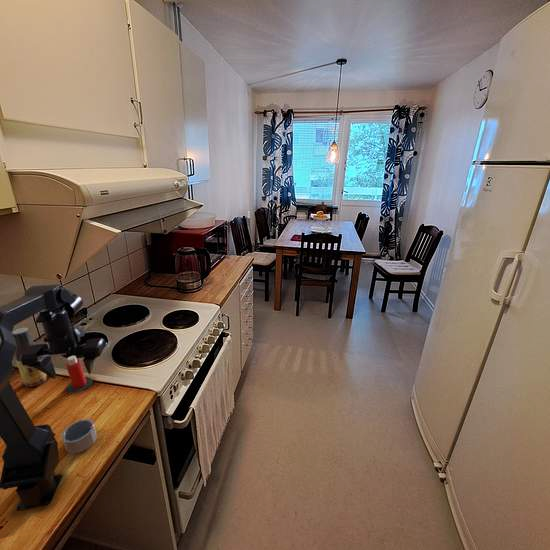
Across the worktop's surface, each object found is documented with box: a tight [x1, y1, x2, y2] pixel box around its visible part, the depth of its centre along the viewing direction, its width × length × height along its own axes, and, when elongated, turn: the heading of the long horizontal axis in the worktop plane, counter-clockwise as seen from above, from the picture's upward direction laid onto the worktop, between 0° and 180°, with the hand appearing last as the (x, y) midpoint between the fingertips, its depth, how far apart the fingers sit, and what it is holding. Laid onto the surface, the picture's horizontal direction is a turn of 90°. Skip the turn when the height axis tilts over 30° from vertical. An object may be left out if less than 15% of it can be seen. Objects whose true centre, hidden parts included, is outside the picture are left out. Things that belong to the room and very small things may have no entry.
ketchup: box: [65, 355, 86, 389], centre depth 93 cm, size 4×4×11 cm
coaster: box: [66, 376, 93, 394], centre depth 95 cm, size 7×7×1 cm
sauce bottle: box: [12, 327, 48, 388], centre depth 93 cm, size 6×6×20 cm
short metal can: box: [61, 418, 98, 455], centre depth 76 cm, size 7×7×4 cm
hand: (72, 375), depth 82 cm, fingers open, 9 cm apart
